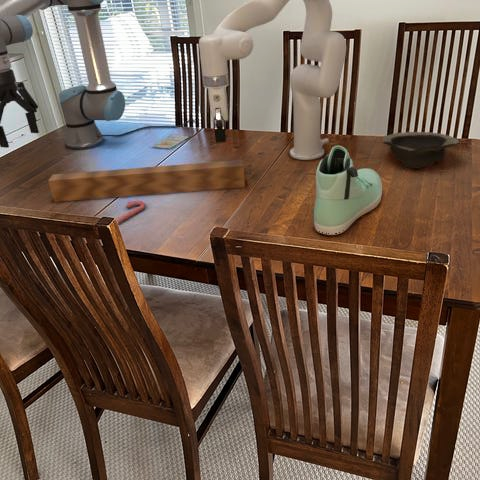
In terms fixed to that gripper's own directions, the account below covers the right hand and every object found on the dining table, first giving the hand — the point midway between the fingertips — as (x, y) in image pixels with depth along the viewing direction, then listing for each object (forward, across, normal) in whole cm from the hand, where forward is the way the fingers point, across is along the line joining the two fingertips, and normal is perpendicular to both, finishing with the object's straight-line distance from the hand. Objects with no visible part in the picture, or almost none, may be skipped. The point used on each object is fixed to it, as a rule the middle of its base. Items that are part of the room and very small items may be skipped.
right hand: (221, 136), depth 150 cm
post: (+17, 0, +25) cm, 30 cm away
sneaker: (+17, -22, -36) cm, 45 cm away
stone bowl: (+17, +10, -66) cm, 69 cm away
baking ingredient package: (+17, +46, +22) cm, 54 cm away
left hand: (-3, +4, +64) cm, 64 cm away
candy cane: (+17, -16, +30) cm, 38 cm away
